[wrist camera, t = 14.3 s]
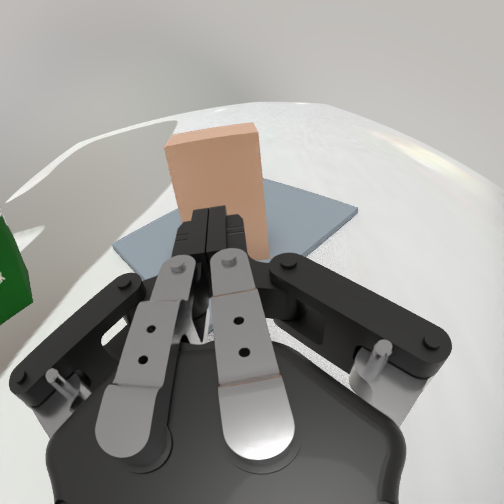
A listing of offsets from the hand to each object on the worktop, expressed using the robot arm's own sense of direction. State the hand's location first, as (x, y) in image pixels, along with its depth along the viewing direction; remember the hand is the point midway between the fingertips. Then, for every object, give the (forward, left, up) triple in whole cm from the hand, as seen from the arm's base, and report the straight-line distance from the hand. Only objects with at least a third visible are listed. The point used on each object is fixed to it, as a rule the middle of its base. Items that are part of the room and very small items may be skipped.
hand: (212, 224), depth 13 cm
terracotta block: (-5, -6, -7) cm, 11 cm away
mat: (-8, -9, -8) cm, 15 cm away
